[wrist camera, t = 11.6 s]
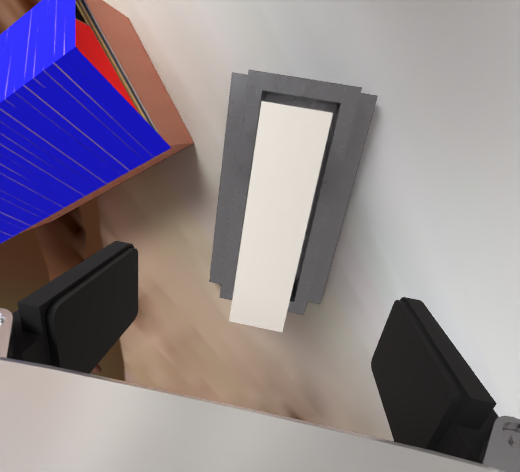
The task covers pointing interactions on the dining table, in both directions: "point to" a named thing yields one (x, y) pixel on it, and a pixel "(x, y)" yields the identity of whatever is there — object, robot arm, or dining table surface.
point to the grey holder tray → (328, 184)
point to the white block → (277, 211)
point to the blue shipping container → (76, 111)
